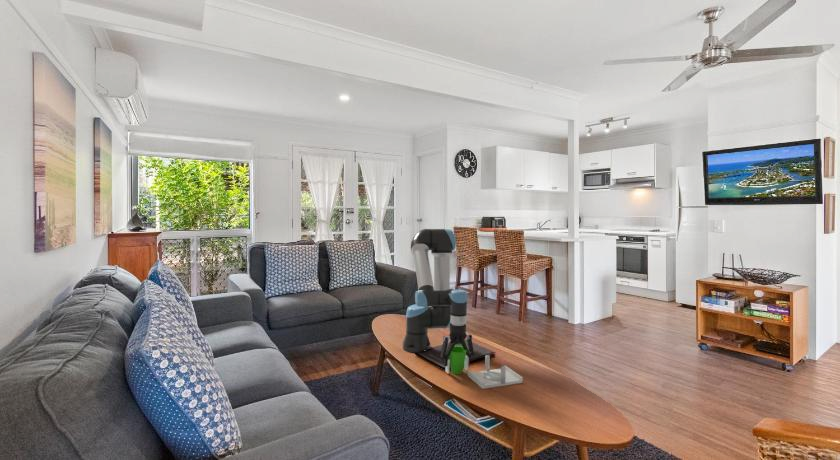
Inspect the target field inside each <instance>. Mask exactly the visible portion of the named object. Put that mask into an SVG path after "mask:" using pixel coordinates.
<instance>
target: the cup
mask: <svg viewBox="0 0 840 460" xmlns="http://www.w3.org/2000/svg"><path fill="white" fill-rule="evenodd" d="M450 352H451V354H450V356H449V358H448V359H449V360H450V364H449V367H450V370H451V371H450V372H451V374H454V375H462V374H463V371H464V361H465V356H467V355H466V352H467V349H466V350H464V349H463V347H462V345H455V346H454V347H453V349H452V351H450Z"/></svg>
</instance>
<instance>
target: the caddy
mask: <svg viewBox="0 0 840 460" xmlns="http://www.w3.org/2000/svg"><path fill="white" fill-rule="evenodd" d="M490 358H491V356H490V355H489V354H488V355H487V354H486V355H485V357H484V370H480V371H475V372H474V371H473V372H472V371H471V370H470V369H468V371H467V377H469V379H471V380H472V382H474V383H475V384H476V385H478V386H479V387H480V388H481V389H482V390H484V389H490V388H498V387H504V386H509V385H516V384H522V383H523V381H524V379H523V378H524V377H523V376H522V375H520V374H518V373H517V372H516V371H515V370H513V369H511V368H510V367H508V366H507V365H506V364H505V365H502V366H500V368H497V369H496V368H494V369H490V362H491V360H490Z"/></svg>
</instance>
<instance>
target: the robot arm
mask: <svg viewBox="0 0 840 460" xmlns="http://www.w3.org/2000/svg"><path fill="white" fill-rule="evenodd" d="M456 243H457V242H456V237H455V234H454V232H453V230H452V229H450V228H449V229H448V228H447V229H446V228H422V229H421V230H419V231H417V232H416V233H415V235H414V236H413V237H412V239H411V242H410V252H411V254H412V256H413V260H414V268H415V273H416V274H415V275H416V280H417V281H416V282H417V283H416V284H417V289H418V290H416V291H415V292H414V293H415V294H414V301H415V302H414V303H415V304H412V305H409V306H408V307H407V309H406V314H405V317H406V319H405V322H406V324H405V326H406V327H405V330H406V331H405V335H404V339H403V342H402V350H405V351H406V352H409V353H422V352H421V351H424V350H428V349H430V350H431V342H430V338H429V335H428V333H429V332H428V331H429V329H444V330H445V329H449V335H447V336H446V335H444V336H443V338H442V339H443V340H442V341H443V343H442V346H441V350H440V355H439V356H440V358H441V359H443V365H444V366H445V369H444V370H445V373H446V374H448V375H449V374H450V358H449V356H450V354H451V352H450V351H452V349H453V347H454V346H456V345H458V344H459V345H461V346H462V347H463V349H464V350H466V349H467V352H466V356H465V361H464V367H463V370H465V371H466V372H468V370H469V364H470V363H471V358H472V356H474V355H475V351H474V345H473V335H472V334H471V333H467V314H468V313H467V312H468V311H467V308H468V293H467V291H466V290H464V289H454V288H451V286H450V284H451V283H450V281H451V280H450V279H451V277H450V270H451V269H450V265H451V264H450V257H451V255H452V254H453V251H455V250H456V246H457V244H456ZM429 251H430V254H431V255H432V256H433V275H432V271H431V270H432V269H431V266H430V259H429ZM465 340H466V341H467V343H466V342H465ZM428 351H429V350H428Z"/></svg>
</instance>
